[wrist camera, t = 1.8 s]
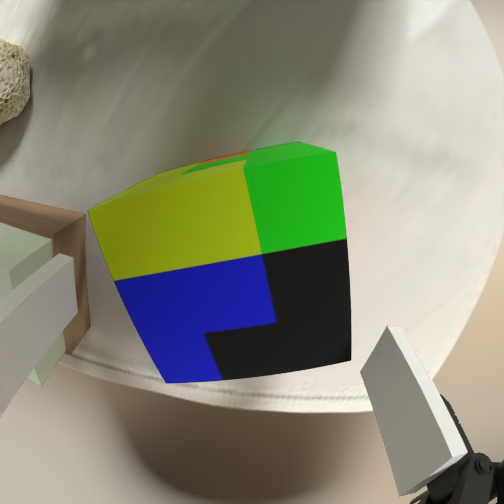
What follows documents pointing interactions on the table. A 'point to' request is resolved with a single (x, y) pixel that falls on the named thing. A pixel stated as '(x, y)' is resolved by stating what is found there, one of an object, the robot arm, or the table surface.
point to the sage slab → (19, 269)
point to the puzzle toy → (234, 264)
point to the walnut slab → (56, 249)
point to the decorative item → (13, 80)
